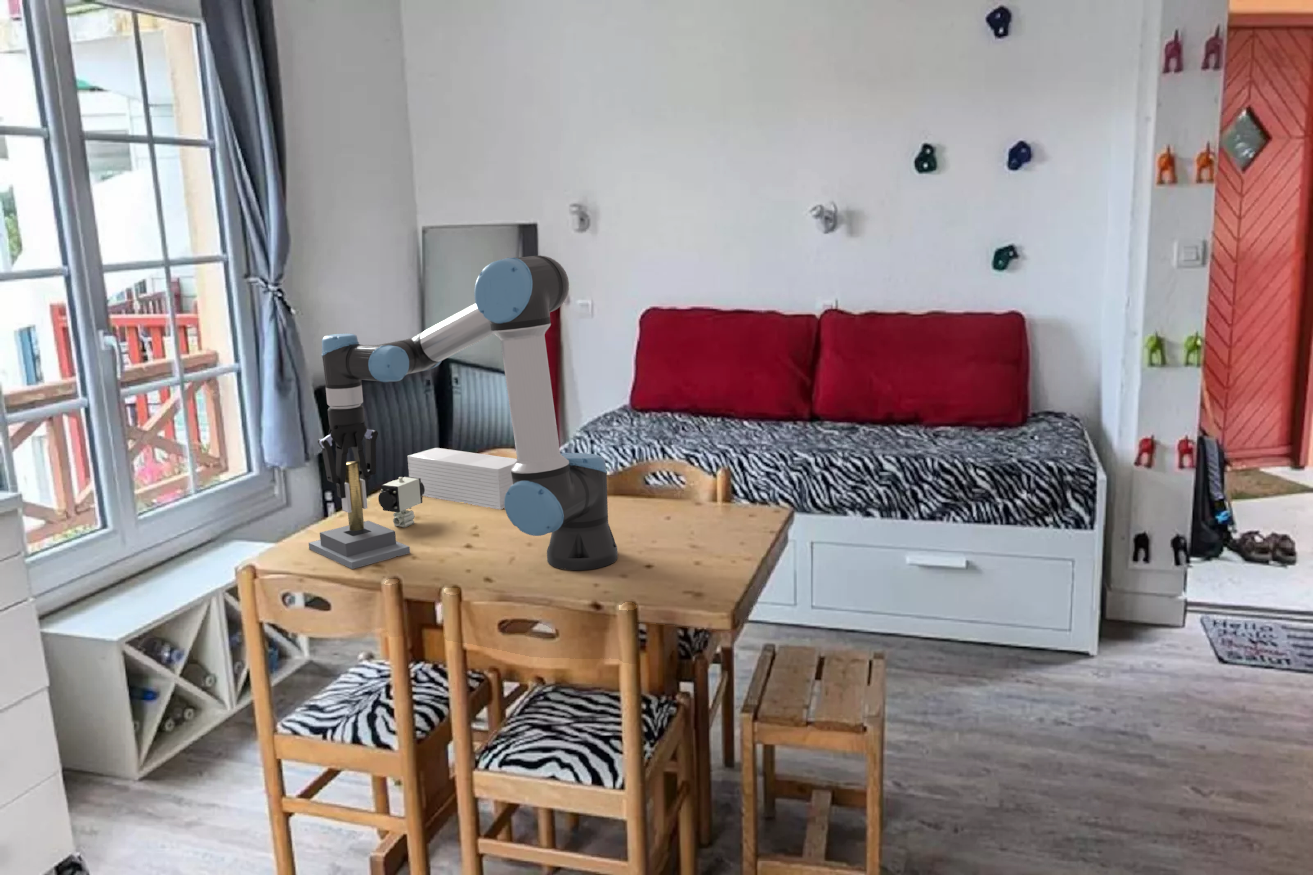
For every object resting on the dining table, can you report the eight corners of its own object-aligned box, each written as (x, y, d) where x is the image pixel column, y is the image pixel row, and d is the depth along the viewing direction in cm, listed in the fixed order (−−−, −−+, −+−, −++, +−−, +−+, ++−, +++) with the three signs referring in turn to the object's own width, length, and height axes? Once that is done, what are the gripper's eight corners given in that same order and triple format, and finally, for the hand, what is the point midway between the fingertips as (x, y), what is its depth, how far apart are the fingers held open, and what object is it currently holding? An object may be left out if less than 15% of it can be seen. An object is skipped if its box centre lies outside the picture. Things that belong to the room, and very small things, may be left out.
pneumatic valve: (427, 519, 254) (424, 472, 252) (395, 533, 244) (391, 484, 241) (410, 517, 257) (406, 470, 254) (377, 530, 246) (373, 481, 244)
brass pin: (366, 528, 231) (360, 462, 227) (353, 531, 228) (347, 465, 225) (359, 525, 233) (353, 460, 230) (346, 528, 231) (340, 463, 227)
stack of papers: (410, 494, 278) (407, 455, 276) (439, 485, 287) (436, 447, 285) (500, 510, 261) (497, 469, 259) (527, 500, 270) (525, 459, 268)
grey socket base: (410, 553, 229) (408, 533, 228) (352, 569, 220) (350, 548, 219) (365, 534, 244) (363, 516, 243) (309, 549, 234) (307, 530, 233)
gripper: (370, 398, 233) (379, 498, 238) (302, 409, 222) (312, 514, 227) (387, 402, 227) (396, 504, 233) (318, 413, 217) (328, 520, 222)
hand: (355, 509), depth 230 cm, fingers closed on brass pin, 3 cm apart
